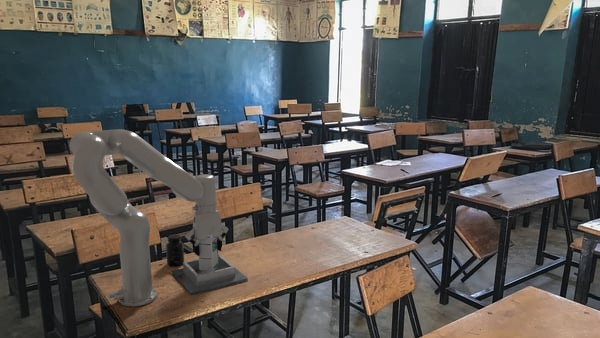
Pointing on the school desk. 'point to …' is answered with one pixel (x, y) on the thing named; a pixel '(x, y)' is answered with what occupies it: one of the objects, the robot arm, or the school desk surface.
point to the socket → (207, 276)
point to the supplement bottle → (174, 251)
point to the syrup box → (208, 254)
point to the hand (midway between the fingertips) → (208, 252)
